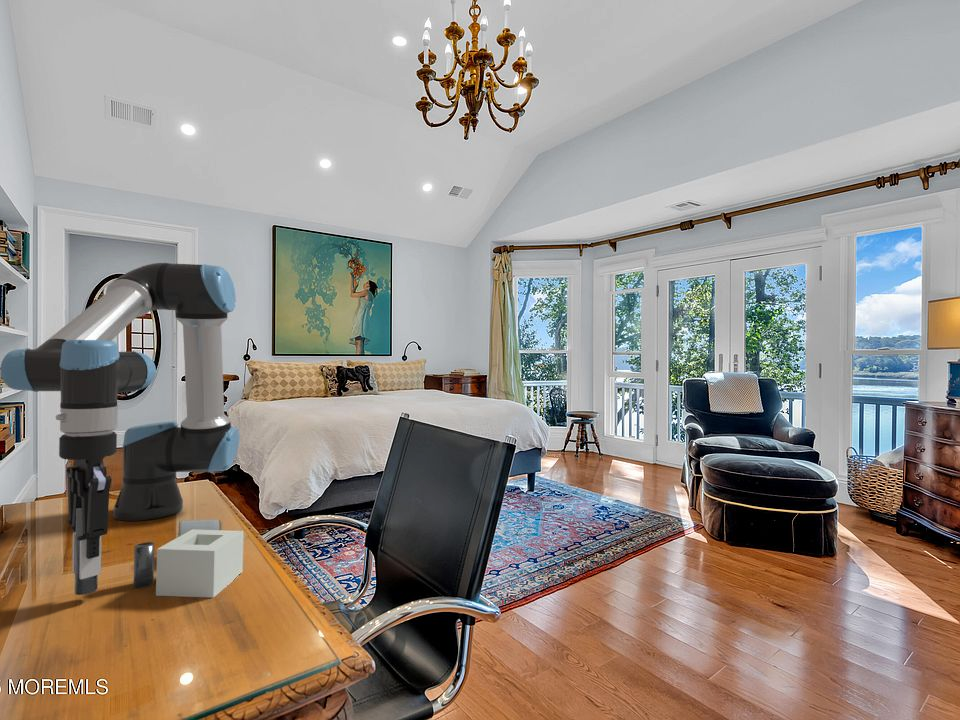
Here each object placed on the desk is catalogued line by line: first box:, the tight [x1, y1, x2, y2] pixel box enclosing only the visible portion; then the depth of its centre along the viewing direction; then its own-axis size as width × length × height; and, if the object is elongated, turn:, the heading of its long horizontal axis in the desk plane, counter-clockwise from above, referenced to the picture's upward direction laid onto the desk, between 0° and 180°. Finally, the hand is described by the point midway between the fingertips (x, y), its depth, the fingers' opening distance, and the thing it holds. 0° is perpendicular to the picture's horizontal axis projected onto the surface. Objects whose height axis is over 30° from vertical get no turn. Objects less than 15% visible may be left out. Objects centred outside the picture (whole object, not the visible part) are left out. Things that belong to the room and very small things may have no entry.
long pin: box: [74, 506, 99, 596], centre depth 83 cm, size 3×3×14 cm
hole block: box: [155, 529, 245, 599], centre depth 90 cm, size 10×10×8 cm
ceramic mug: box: [177, 518, 224, 538], centre depth 104 cm, size 11×8×8 cm
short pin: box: [132, 541, 156, 589], centre depth 90 cm, size 3×3×7 cm
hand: (86, 572), depth 83 cm, fingers closed on long pin, 3 cm apart
